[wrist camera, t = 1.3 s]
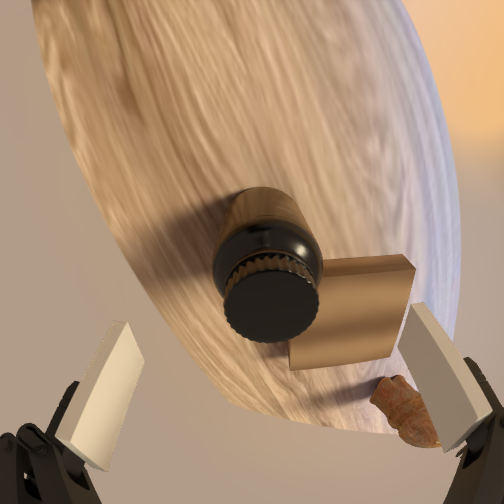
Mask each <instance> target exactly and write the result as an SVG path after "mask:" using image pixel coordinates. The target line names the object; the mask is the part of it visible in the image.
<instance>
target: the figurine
mask: <svg viewBox="0 0 504 504" xmlns="http://www.w3.org/2000/svg"><path fill="white" fill-rule="evenodd" d="M370 403H372V404H374V405H376V406H377V407H378V408H379V409H380V410H381V411H382V412H383V413H384V414H385V415H386V417H387V420H388V423H389V425H390V426H391V427H392V428H394V429H397V430H398V433H399V436H400V437H401V438H402V439H403V440H404V441H405V442H406V443H408V444H410V445H412V446H415V447H421V448H434V447H435V448H436V447H441V443H440V441H439V438H438V435H437V433H436V430H435V428H434V425H433V423H432V420H431V418H430V416H429V413H428V411H427V408H426V406H425V404H424V401H423V399H422V397H421V395H420V393H419V392H417V391H415V390H414V389H413V388H412V387H411V386H410V385H409V384H408V383H407V382H406V381H405V378H404V377H403V376H401V375H398V376H396V377H395V378H394V379H393V380H391V379H390V378H389V377H386V378H383V379H382V380H381V381H380V382H379V384H378V386H377V388H376V390H375V392H374V393H373V395H372V396H371V398H370Z"/></svg>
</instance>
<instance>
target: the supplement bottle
mask: <svg viewBox="0 0 504 504" xmlns="http://www.w3.org/2000/svg"><path fill="white" fill-rule="evenodd" d="M322 275H323V257H322V253H321V250H320V248H319V245H318V243H317V241H316V239H315V237H314V235H313V233H312V231H311V229H310V228H309V226H308V224H307V222H306V220H305V218H304V216H303V214H302V213H301V211H300V209H299V207H298V206H297V204H296V203H295V202H294V201H293V199H292V198H291V197H289V196H288V195H287V194H285V193H284V192H282V191H280V190H277V189H274V188H270V187H257V188H252V189H249V190H246V191H244V192H242V193H241V194H239V195H238V196H237V197H235V198H234V199H233V200H232V202H231V203H230V204H229V206H228V208H227V209H226V212H225V214H224V217H223V221H222V224H221V228H220V232H219V235H218V239H217V243H216V247H215V251H214V255H213V260H212V276H213V281H214V284H215V286H216V289H217V290H218V292H219V294H220V295H221V297H222V298H223V299H224V303H223V306H224V314H225V316H226V317H227V322H228V323H229V324H230V326H231V328H233V329H234V330H235V331H236V333H238V334H241V335H242V337H244V338H248V339H249V340H251V341H256V342H258V343H261V342H264V343H278V342H284V341H286V340H289V339H293V338H294V337H296V336H299V335H300V334H301V333H302V332H304V331H306V330H307V328H308V327H309V326H310V325H312V322H313V320H315V319H316V314H317V313H318V311H319V309H318V307H319V304H320V301H319V293H318V290H317V289H318V287H319V284H320V282H321V279H322Z"/></svg>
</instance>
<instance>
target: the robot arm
mask: <svg viewBox="0 0 504 504" xmlns="http://www.w3.org/2000/svg"><path fill="white" fill-rule="evenodd" d="M398 349H399V351H400V353H401V355H402V357H403V359H404V361H405V363H406V365H407V367H408V369H409V371H410V373H411V375H412V377H413V379H414V382H415V384H416V386H417V388H418V390H419V392H420V395H421V397H422V399H423V401H424V404H425V406H426V408H427V411H428V413H429V416H430V418H431V420H432V423H433V425H434V428H435V430H436V433H437V435H438V438H439V441H440V443H441V446H442V448H443V451H444V453H446V452H448V451H450V450H452V449H454V448H456V447H458V446H459V445H460V444H461V443H462V442H463V441H464V440H466V442H467V445H466V446H464V447H463V448H462V449H461V450H460V451H459V452H458V453H457V455H456V457H458V456H459V455H461V454H462V453H463V454H462V456H461V457H460V458H461V460H460V463H459V466H458V468H457V472H456V474H455V477H454V479H453V482H452V484H451V487H450V489H449V491H448V494H447V497H446V499H445V501H444V503H443V504H504V408H503V407H502V405H501V404H500V402H499V400H498V398H497V397H496V395H495V393H494V391H493V390H492V388H491V386H490V385H489V383H488V381H486V378H485V376H484V375H483V374H482V372H481V370H480V368H479V367H478V365H477V363H475V362H474V361H473V360H472V359H470V358H469V357H466V358H462V357H461V355H460V353H459V352H458V350H457V349H456V347H455V346H454V344H453V343H452V341H451V340H450V338H449V337H448V335H447V334H446V332H445V331H444V330H443V328H442V327H441V325H440V324H439V323H438V321H437V320H436V318H435V317H434V316H433V314H432V313H431V311H430V310H429V309H428V307H427V306H426V305H425V303H424V302H422V303H416V304H411V305H410V309H409V312H408V316H407V319H406V322H405V326H404V329H403V332H402V335H401V338H400V341H399V344H398ZM144 363H145V361H144V359H143V357H142V354H141V352H140V350H139V348H138V346H137V343H136V341H135V339H134V336H133V334H132V332H131V329H130V327H129V324H128V322H122V321H114V322H113V324H112V325H111V327H110V329H109V331H108V332H107V334H106V336H105V338H104V339H103V341H102V343H101V345H100V346H99V348H98V350H97V352H96V353H95V355H94V357H93V359H92V361H91V362H90V364H89V366H88V368H87V370H86V372H85V374H84V376H83V378H82V379H81V381H80V382H78V381H74V382H73V383H72V384H71V385H70V386H69V387H68V388H67V390H66V392H65V394H64V395H63V397H62V398H63V399H62V400H61V401H60V403H59V407H57V409H56V411H55V413H54V416H53V418H52V420H51V422H50V424H49V426H48V428H47V430H46V432H45V434H44V433H43V432H42V431H41V430H40V429H39V428H38V427H37V426H36V425H35V424H32V423H26V424H24V425H23V426H21V427H20V428H19V430H18V432H17V434H16V437H15V436H14V435H13V434H11V433H4V434H2V435H1V436H0V504H102V503H101V501H100V499H99V497H98V495H97V493H96V491H95V488H94V486H93V484H92V482H91V479H90V477H89V475H88V473H87V470H86V469H85V467H84V464H85V462H86V463H87V464H88V465H90V466H91V467H93V468H96V469H99V470H102V471H105V472H107V471H108V468H109V465H110V461H111V458H112V455H113V451H114V448H115V445H116V441H117V439H118V435H119V433H120V430H121V427H122V424H123V421H124V418H125V415H126V412H127V409H128V406H129V403H130V401H131V398H132V395H133V392H134V389H135V387H136V384H137V381H138V379H139V376H140V373H141V371H142V368H143V365H144ZM24 473H26V474H27V478H26V479H25V478H24Z"/></svg>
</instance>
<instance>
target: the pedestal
mask: <svg viewBox="0 0 504 504" xmlns="http://www.w3.org/2000/svg"><path fill="white" fill-rule="evenodd" d="M415 271H416V268H415V267H414V266H413V265H412V264H411V263H410V262H409V261H408V259H407V258H406V257H405V256H404V255H403V254H399V255H386V256H373V257H360V258H346V259H332V260H323V275H322V279H321V282H320V284H319V287H318V289H317V290H318V293H319V301H320V304H319V307H318V309H319V311H318V313H317V314H316V319H315V320H313V322H312V325H310V326H309V327H308V328H307V330H306V331H304V332H302V333H301V334H300V335H299V336H296V337H294V338H293V339H289V340H288V358H289V367H290V371H293V370H305V369H314V368H323V367H331V366H339V365H346V364H353V363H359V362H365V361H371V360H377V359H382V358H387V357H390V355H391V353H392V350H393V347H394V344H395V341H396V338H397V335H398V332H399V329H400V326H401V323H402V320H403V316H404V313H405V310H406V306H407V303H408V299H409V295H410V291H411V288H412V283H413V279H414V275H415Z"/></svg>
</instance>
